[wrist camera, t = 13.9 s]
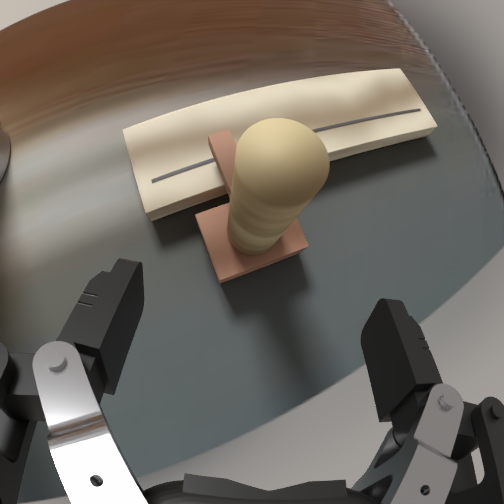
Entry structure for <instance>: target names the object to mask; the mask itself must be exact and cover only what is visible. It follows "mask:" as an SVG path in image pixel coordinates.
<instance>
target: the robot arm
mask: <svg viewBox="0 0 504 504" xmlns="http://www.w3.org/2000/svg"><path fill="white" fill-rule="evenodd" d="M9 155H10V140H9V136H8V134H7V133H6V131H5V130H4V129H3V128H2V127H1V126H0V181H1V180H2V177H3V175H4V173H5V170H6V167H7V164H8V160H9ZM143 306H144V285H143V266H142V263H141V262H138V261H132V260H127V259H121V258H119V259H118V260H117V262H116V263H115V265H114V267H113V269H112V270H111V272H110V273H109V272H104V271H102V272H100V273H99V274H98V275H96V276H95V277H94V278H92V279H91V280H90V281H89V283H88V285H87V287H86V288H85V290H84V293H83V294H82V295H81V297H80V298H79V300H78V304H76V305H75V307H74V309H73V311H72V313H71V314H70V316H69V318H68V320H67V322H66V324H65V325H64V327H63V329H62V331H61V333H60V335H59V337H58V338H57V340H56V341H54V342H50V343H47V344H45V345H43V346H42V347H41V348H40V349H39V350H38V351H37V352H36V353H33V354H15V353H8V351H7V349H6V347H5V346H4V345H3V344H2V343H1V342H0V504H17V499H18V494H19V489H20V484H21V480H22V475H23V471H24V467H25V463H26V459H27V455H28V451H29V448H30V444H31V441H32V437H33V434H34V430H35V427H36V424H37V421H47V424H48V428H49V432H50V434H49V435H48V437H47V439H48V444H49V448H50V451H51V454H52V457H53V459H54V462H55V465H56V467H57V470H58V472H59V475H60V477H61V480H62V482H63V485H64V487H65V489H66V492H67V494H68V496H69V498H70V500H71V503H72V504H504V405H503V404H502V403H501V401H499V400H498V399H497V398H494V397H487V398H485V399H484V400H483V401H482V402H481V403H480V404H479V405H476V404H472V403H468V402H464V401H463V400H462V398H461V396H460V394H459V393H458V391H457V390H456V389H455V388H453V387H451V386H450V385H447V384H443V382H442V379H441V377H440V374H439V371H438V369H437V366H436V364H435V361H434V359H433V356H432V354H431V351H430V350H429V346H428V344H427V342H426V341H425V337H424V335H423V332H422V330H421V327H420V326H419V325H418V324H417V322H416V321H415V320H414V319H413V318H412V316H409V315H408V313H407V310H406V308H405V306H404V304H403V302H402V301H400V300H392V299H384V298H382V299H380V300H379V301H378V302H377V304H376V306H375V308H374V310H373V312H372V313H371V315H370V317H369V319H368V321H367V322H366V324H365V326H364V328H363V330H362V334H361V346H362V350H363V354H364V358H365V362H366V365H367V369H368V374H369V378H370V382H371V387H372V391H373V395H374V400H375V404H376V408H377V413H378V418H379V422H390V421H392V425H393V427H392V428H391V429H390V430H389V431H388V433H387V435H386V437H385V439H384V441H383V443H382V444H381V446H380V448H379V450H378V452H377V454H376V456H375V457H374V459H373V461H372V463H371V465H370V466H369V468H368V469H367V471H366V472H365V474H364V475H363V476H362V477H361V478H360V479H359V480H358V481H357V482H356V483H355V485H354V486H353V487H352V488H351V489H349V488H346V481H345V480H334V481H313V482H306V483H303V484H298V485H294V486H290V487H286V488H282V489H277V490H272V491H267V490H262V489H258V488H255V487H251V486H248V485H244V484H241V483H238V482H235V481H232V480H228V479H224V478H214V477H205V476H198V475H192V474H185V475H184V480H182V481H172V482H166V483H163V484H159V485H156V486H153V487H151V488H148V489H146V490H145V491H143V489H142V488H141V486H140V484H139V483H138V481H137V479H136V477H135V475H134V474H133V472H132V470H131V468H130V466H129V465H128V463H127V461H126V459H125V457H124V455H123V453H122V452H121V450H120V448H119V446H118V444H117V441H116V439H115V437H114V435H113V433H112V431H111V429H110V427H109V425H108V422H107V420H106V418H105V416H104V413H103V411H102V409H101V406H100V402H101V399H102V396H103V393H107V394H111V395H114V394H115V390H116V387H117V384H118V381H119V378H120V375H121V372H122V369H123V366H124V363H125V360H126V357H127V354H128V351H129V348H130V346H131V343H132V340H133V337H134V334H135V331H136V329H137V326H138V323H139V321H140V318H141V315H142V311H143ZM478 447H479V449H480V453H481V457H482V462H483V466H484V471H485V475H484V478H483V480H482V482H481V483H480V484H477V480H476V475H475V470H474V465H473V461H472V456H471V452H473V451H474V450H475V449H477V448H478Z"/></svg>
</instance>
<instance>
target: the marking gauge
mask: <svg viewBox="0 0 504 504" xmlns="http://www.w3.org/2000/svg"><path fill="white" fill-rule="evenodd" d="M208 145H209V147H210V150H211V152H212V155H213V157H214V160H215V162H216V165H217V168H218V170H219V173H220V175H221V178H222V180H223V183H224V185H225V188H226V190H227V193H228V195H229V198H230V202H229V203H226V204H223V205H221V206H218V207H215V208H212V209H209V210H206V211H204V212H201V213H198V214H195V216H196V220H197V225H198V227H199V230H200V233H201V236H202V238H203V241H204V244H205V246H206V249H207V252H208V254H209V257H210V260H211V262H212V265H213V268H214V270H215V273H216V276H217V278H218V281H219V283H223V282H226V281H228V280H231V279H234V278H236V277H239V276H241V275H244V274H247V273H249V272H252V271H254V270H257V269H260V268H262V267H265V266H267V265H270V264H273V263H275V262H278V261H280V260H283V259H285V258H288V257H291V256H293V255H296V254H298V253H300V252H302V251H303V250H304V249H306V248H307V247H308V246H309V245H308V243H307V240H306V238H305V236H304V233H303V231H302V229H301V226H300V224H299V222H298V219H297V217H298V215H299V214H300V213H301V212H302V211H303V209H304V208H305V207H306V206H307V205H308V203H309V202H310V201H311V200H312V199H313V197H314V196H315V195H316V194H317V193H318V191H319V190H320V189H321V188H322V186H323V185H324V183H325V182H326V180H327V177H328V174H329V168H330V161H329V155H328V152H327V149H326V147H325V145H324V144H323V142H322V140H321V139H320V138H319V136H318V135H317V134H316V133H315V132H313V131H312V130H311V129H310V128H308V127H307V126H305V125H303V124H301V123H299V122H297V121H294V120H290V119H285V118H270V119H265V120H262V121H259V122H257V123H255V124H253V125H252V126H250V127H249V128H248V129H247V130H246V131H245V132H244V133H243V134H242V136H241V137H240V139H239V141H238V144H237V146H236V143H235V141H234V139H233V137H232V134H231V132H230V130H229V129H226V130H223V131H220V132H216V133H213V134H210V135H208Z"/></svg>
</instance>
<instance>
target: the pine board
mask: <svg viewBox="0 0 504 504" xmlns="http://www.w3.org/2000/svg"><path fill="white" fill-rule="evenodd" d="M270 118H285V119H290V120H294V121H297V122H299V123H301V124H303V125H305V126H307V127H308V128H310V129H311V130H312V131H313V132H315V133H316V134H317V135H318V136H319V138H320V139H321V140H322V142H323V144H324V145H325V147H326V149H327V152H328V155H329V161H333V160H337V159H340V158H344V157H347V156H351V155H354V154H358V153H362V152H365V151H369V150H373V149H377V148H380V147H384V146H388V145H392V144H396V143H400V142H404V141H408V140H412V139H416V138H421V137H425V136H427V135H429V134H430V133H431V132H432V131H433V130H434V129H435V128H436V127H438V126H437V125H436V123H435V121H434V119H433V118H432V116H431V114H430V113H429V111H428V110H427V108H426V106H425V105H424V103H423V102H422V100H421V99H420V97H419V95H418V94H417V92H416V91H415V89H414V88H413V87H412V85H411V84H410V82H409V81H408V79H407V78H406V76H405V75H404V74H403V72H402V71H401V69H385V70H373V71H362V72H353V73H344V74H336V75H329V76H322V77H315V78H309V79H303V80H297V81H292V82H286V83H281V84H276V85H271V86H267V87H262V88H257V89H253V90H249V91H244V92H240V93H236V94H232V95H228V96H224V97H221V98H217V99H213V100H210V101H206V102H203V103H199V104H196V105H193V106H189V107H186V108H183V109H180V110H177V111H173V112H170V113H167V114H164V115H161V116H159V117H156V118H153V119H150V120H147V121H144V122H142V123H139V124H136V125H134V126H131V127H128V128H126V129H123V133H124V137H125V141H126V145H127V149H128V152H129V156H130V160H131V164H132V167H133V171H134V174H135V178H136V182H137V185H138V188H139V192H140V195H141V199H142V202H143V205H144V209H145V212H146V214H147V215H148V217H149V218H150V220H151V221H154V220H157V219H159V218H162V217H164V216H167V215H170V214H172V213H175V212H178V211H181V210H183V209H186V208H189V207H192V206H194V205H197V204H200V203H203V202H205V201H208V200H211V199H214V198H217V197H220V196H223V195H225V194H228V193H227V190H226V188H225V185H224V183H223V180H222V178H221V175H220V173H219V170H218V168H217V165H216V162H215V160H214V157H213V155H212V152H211V150H210V147H209V145H208V135H210V134H213V133H216V132H220V131H223V130H226V129H229V130H230V132H231V134H232V137H233V139H234V141H235V143H236V146H237V144H238V141H239V139H240V137H241V136H242V134H243V133H244V132H245V131H246V130H247V129H248V128H249V127H250V126H252V125H253V124H255V123H257V122H259V121H262V120H265V119H270Z"/></svg>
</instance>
